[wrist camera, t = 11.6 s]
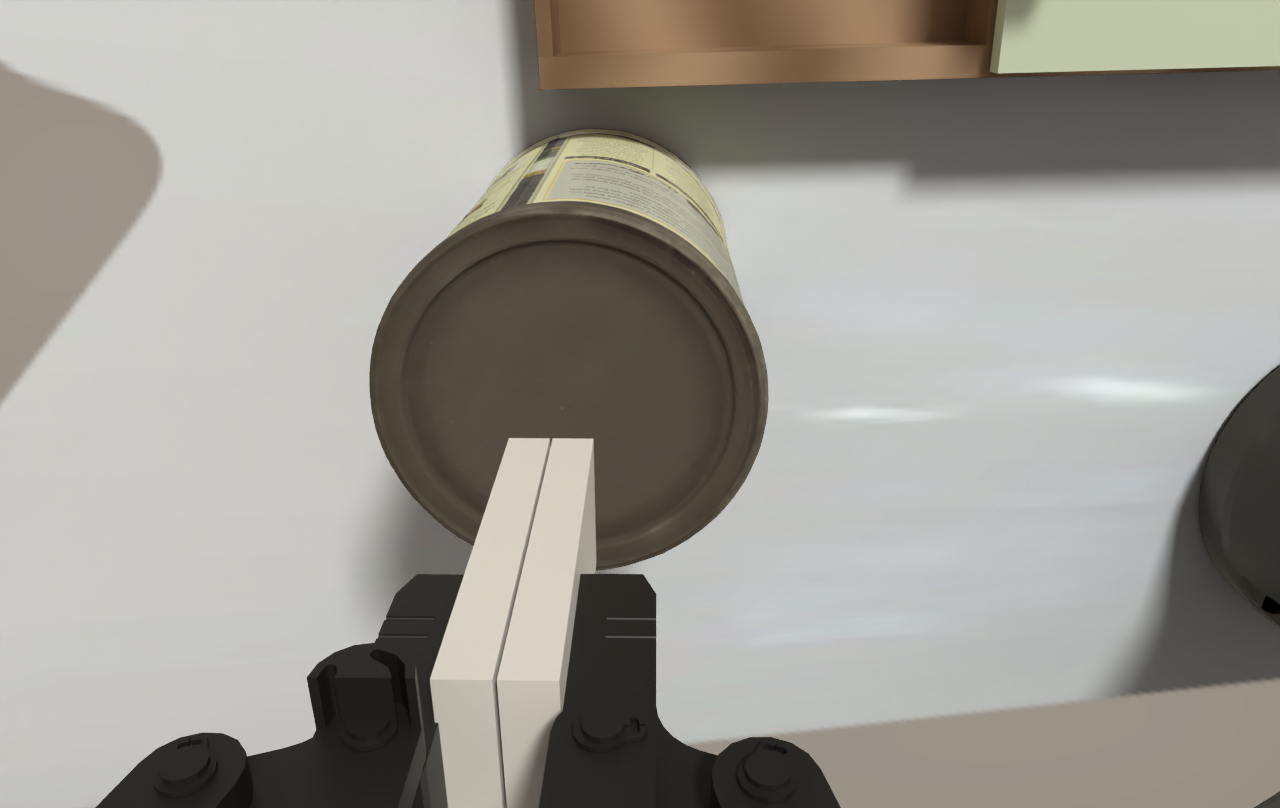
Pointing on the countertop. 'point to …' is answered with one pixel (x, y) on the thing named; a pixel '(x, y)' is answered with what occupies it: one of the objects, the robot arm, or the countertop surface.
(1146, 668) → the countertop surface
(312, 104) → the countertop surface
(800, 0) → the wooden tray
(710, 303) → the coffee can
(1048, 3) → the lid
